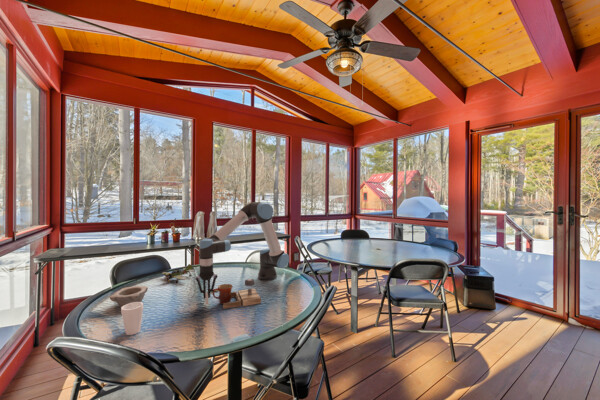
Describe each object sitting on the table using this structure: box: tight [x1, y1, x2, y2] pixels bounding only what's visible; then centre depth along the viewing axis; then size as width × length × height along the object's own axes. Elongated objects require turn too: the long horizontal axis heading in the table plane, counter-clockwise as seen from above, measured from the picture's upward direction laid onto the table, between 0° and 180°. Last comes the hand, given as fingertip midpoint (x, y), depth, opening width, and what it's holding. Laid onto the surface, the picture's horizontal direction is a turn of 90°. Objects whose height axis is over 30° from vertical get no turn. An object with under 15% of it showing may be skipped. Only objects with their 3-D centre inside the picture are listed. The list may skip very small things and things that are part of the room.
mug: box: [212, 283, 233, 305], centre depth 167 cm, size 12×9×10 cm
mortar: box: [109, 285, 149, 308], centre depth 165 cm, size 17×17×9 cm
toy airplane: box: [161, 263, 195, 284], centre depth 214 cm, size 31×25×10 cm
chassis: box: [222, 288, 262, 310], centre depth 170 cm, size 18×22×6 cm
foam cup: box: [120, 301, 144, 336], centre depth 134 cm, size 10×9×13 cm
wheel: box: [244, 278, 255, 287], centre depth 173 cm, size 6×6×3 cm
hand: (206, 303), depth 163 cm, fingers closed
